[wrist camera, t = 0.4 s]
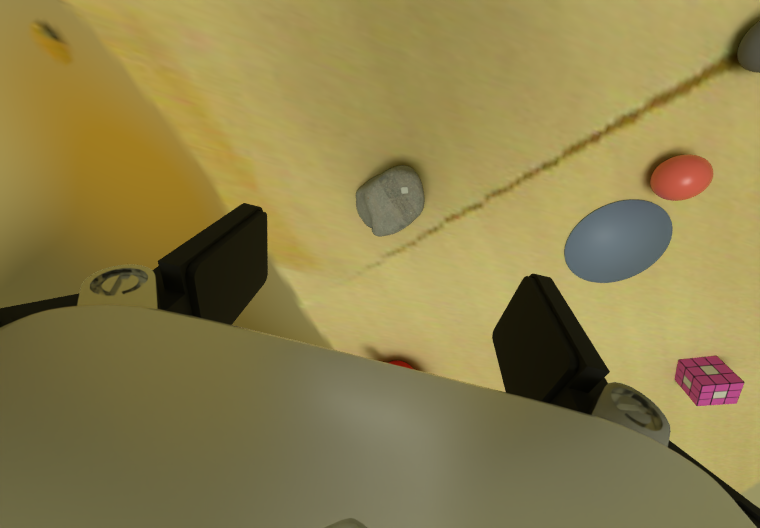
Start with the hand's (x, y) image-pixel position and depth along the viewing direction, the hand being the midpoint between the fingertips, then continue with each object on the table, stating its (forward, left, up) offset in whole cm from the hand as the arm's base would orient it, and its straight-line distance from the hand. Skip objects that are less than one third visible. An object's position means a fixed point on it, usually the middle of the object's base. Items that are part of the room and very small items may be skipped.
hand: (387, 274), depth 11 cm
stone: (+10, -2, -36) cm, 37 cm away
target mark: (+9, +33, -36) cm, 50 cm away
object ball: (-2, +33, -33) cm, 47 cm away
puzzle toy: (+29, +60, -36) cm, 76 cm away
